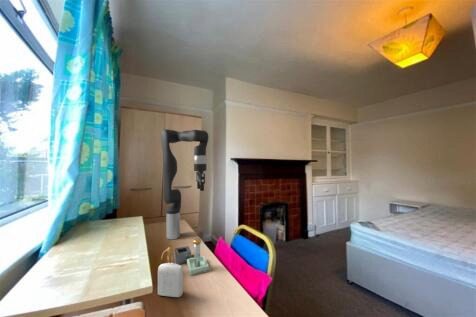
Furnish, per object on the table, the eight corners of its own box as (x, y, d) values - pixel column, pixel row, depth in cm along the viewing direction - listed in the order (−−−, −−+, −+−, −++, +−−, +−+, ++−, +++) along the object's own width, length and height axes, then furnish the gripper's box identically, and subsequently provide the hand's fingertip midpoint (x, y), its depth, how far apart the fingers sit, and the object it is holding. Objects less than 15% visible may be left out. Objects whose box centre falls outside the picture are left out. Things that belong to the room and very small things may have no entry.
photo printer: (184, 291, 82) (184, 261, 82) (180, 298, 78) (179, 267, 78) (161, 289, 84) (161, 260, 84) (156, 296, 80) (155, 265, 79)
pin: (200, 263, 103) (200, 237, 103) (202, 267, 99) (201, 240, 99) (192, 264, 101) (192, 239, 101) (194, 268, 98) (193, 242, 98)
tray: (186, 263, 103) (186, 258, 103) (203, 260, 107) (203, 255, 107) (190, 275, 93) (190, 270, 93) (208, 270, 97) (208, 265, 97)
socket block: (174, 257, 110) (174, 248, 110) (188, 254, 113) (188, 245, 113) (175, 264, 103) (175, 255, 103) (191, 261, 106) (191, 252, 106)
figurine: (162, 278, 91) (161, 252, 91) (160, 271, 97) (160, 247, 97) (180, 273, 95) (180, 248, 95) (178, 266, 101) (177, 243, 100)
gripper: (209, 163, 114) (209, 191, 115) (203, 162, 128) (203, 187, 128) (196, 163, 111) (196, 192, 112) (191, 162, 125) (192, 188, 125)
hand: (200, 189), depth 120 cm, fingers open, 8 cm apart
